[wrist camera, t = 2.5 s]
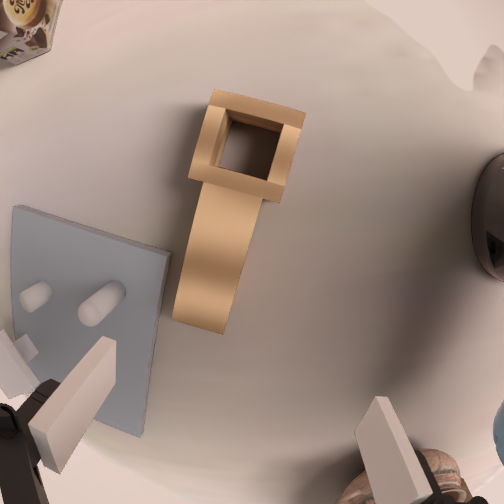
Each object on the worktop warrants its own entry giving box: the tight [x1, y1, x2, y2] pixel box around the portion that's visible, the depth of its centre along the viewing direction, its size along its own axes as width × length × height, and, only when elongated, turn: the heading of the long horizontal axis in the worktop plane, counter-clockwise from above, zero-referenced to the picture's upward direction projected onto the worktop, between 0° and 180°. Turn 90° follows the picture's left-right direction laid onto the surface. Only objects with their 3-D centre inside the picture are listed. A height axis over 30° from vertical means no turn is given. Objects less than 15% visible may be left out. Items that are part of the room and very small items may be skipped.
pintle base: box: [0, 205, 172, 438], centre depth 27 cm, size 26×21×9 cm
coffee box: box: [0, 0, 62, 65], centre depth 15 cm, size 9×6×16 cm
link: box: [172, 89, 306, 335], centre depth 25 cm, size 18×7×5 cm, turn 164°
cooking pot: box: [335, 449, 466, 504], centre depth 30 cm, size 25×19×12 cm
